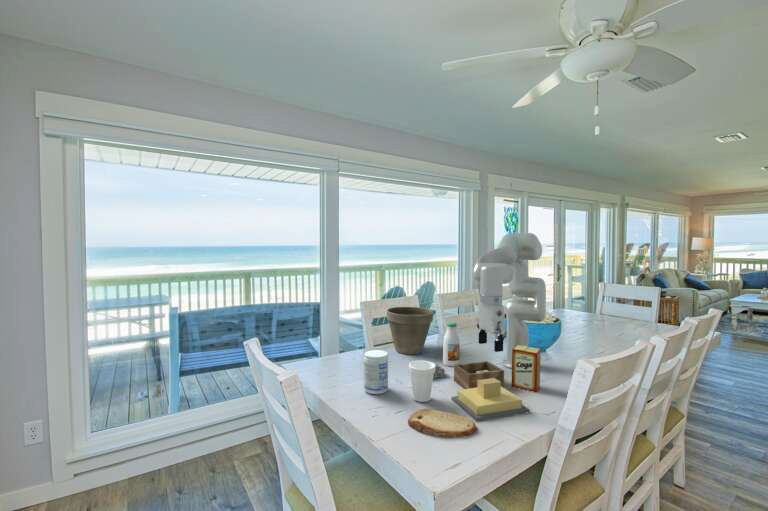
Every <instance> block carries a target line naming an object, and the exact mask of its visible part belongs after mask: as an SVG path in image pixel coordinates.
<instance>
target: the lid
mask: <svg viewBox="0 0 768 511" xmlns="http://www.w3.org/2000/svg"><path fill="white" fill-rule="evenodd" d="M457 396H458V399H459V400H460V401H461V402H463V403H464V404H465V405H466V406H467V407H469V408H470V409H471V410H472V411H473V412H475V413H476V414H477V415H482V414H488V413H494V412H500V411H506V410H512V409H518V408H522V405H523V402H522V401H523V399H522V398H520V397H519V396H517V395H516V394H514V393H512V392H510V391H509V390H507V389H506V388H505V387H504V388H503V387H501V382H500V381H498V380H497V379H495V378H490V379H482V380H477V388H470V389H464V388H462V389H457Z"/></svg>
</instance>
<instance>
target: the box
mask: <svg viewBox="0 0 768 511" xmlns="http://www.w3.org/2000/svg"><path fill="white" fill-rule="evenodd" d="M490 378H495V379H497V380H498V381H500V382H501V387H503V388H504V389H505V386H504V385H505V370H504V369H503V368H500V367H498V366H497V365H495V364H493V363H491V362H490V361H488V360H485V361H475V362H466V363H459V364H456V365H454V366H453V382H454V383H456V385H458V386H459V387H461V388H462V389H470V388H477V380H482V379H490Z"/></svg>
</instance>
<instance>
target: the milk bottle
mask: <svg viewBox="0 0 768 511" xmlns="http://www.w3.org/2000/svg"><path fill="white" fill-rule="evenodd" d="M457 324H458V323H457V322H454V321H448V322H446V332H445V334H444V337H443V342H442V343H443V345H442V346H443V348H442V364H443V365H444V366H448V367H454V365H456V364H460V357H461V356H460V352H461V350H460V347H461V346H460V337H459V334H458V332H457V327H458V326H457Z"/></svg>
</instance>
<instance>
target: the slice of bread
mask: <svg viewBox="0 0 768 511" xmlns="http://www.w3.org/2000/svg"><path fill="white" fill-rule="evenodd" d="M407 424H408V426H409V427H411V428H412V429H415V431H417V432H419V433H421V434H424V435H429V436H432V437H439V438H444V437H445V438H448V439H449V438H455V437H456V438H465V437H464V436H466V437H469V435H470V436H472V435H475V434H476V433H477V431H478V427H477V426H476V423H475V422H474V420H472V419H471V418H468V417H465V416H463V415H460V414H456V413H451V412H446V411H440V410H437V409H436V410H435V409H431V408H426V407H425V408H423V409H418V410H417V411H415V412H413V413H412V414H411V415H410V417H409V418H408V419H407Z"/></svg>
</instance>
